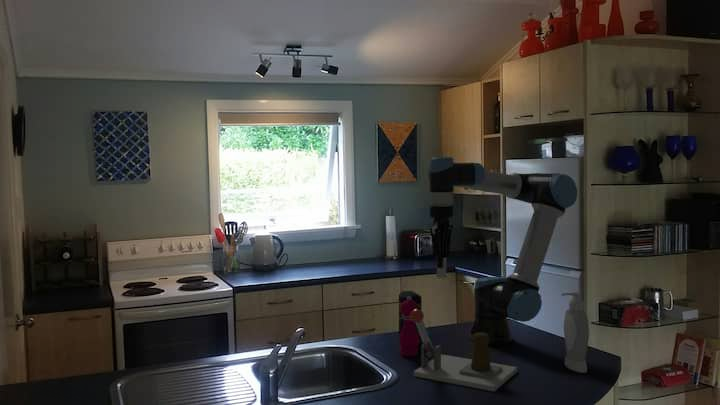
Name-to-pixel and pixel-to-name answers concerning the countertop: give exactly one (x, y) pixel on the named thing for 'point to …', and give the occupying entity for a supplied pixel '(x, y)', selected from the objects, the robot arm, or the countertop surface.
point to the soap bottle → (576, 334)
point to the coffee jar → (403, 297)
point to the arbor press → (462, 371)
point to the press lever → (423, 332)
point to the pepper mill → (408, 329)
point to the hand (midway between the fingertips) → (441, 277)
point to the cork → (480, 353)
